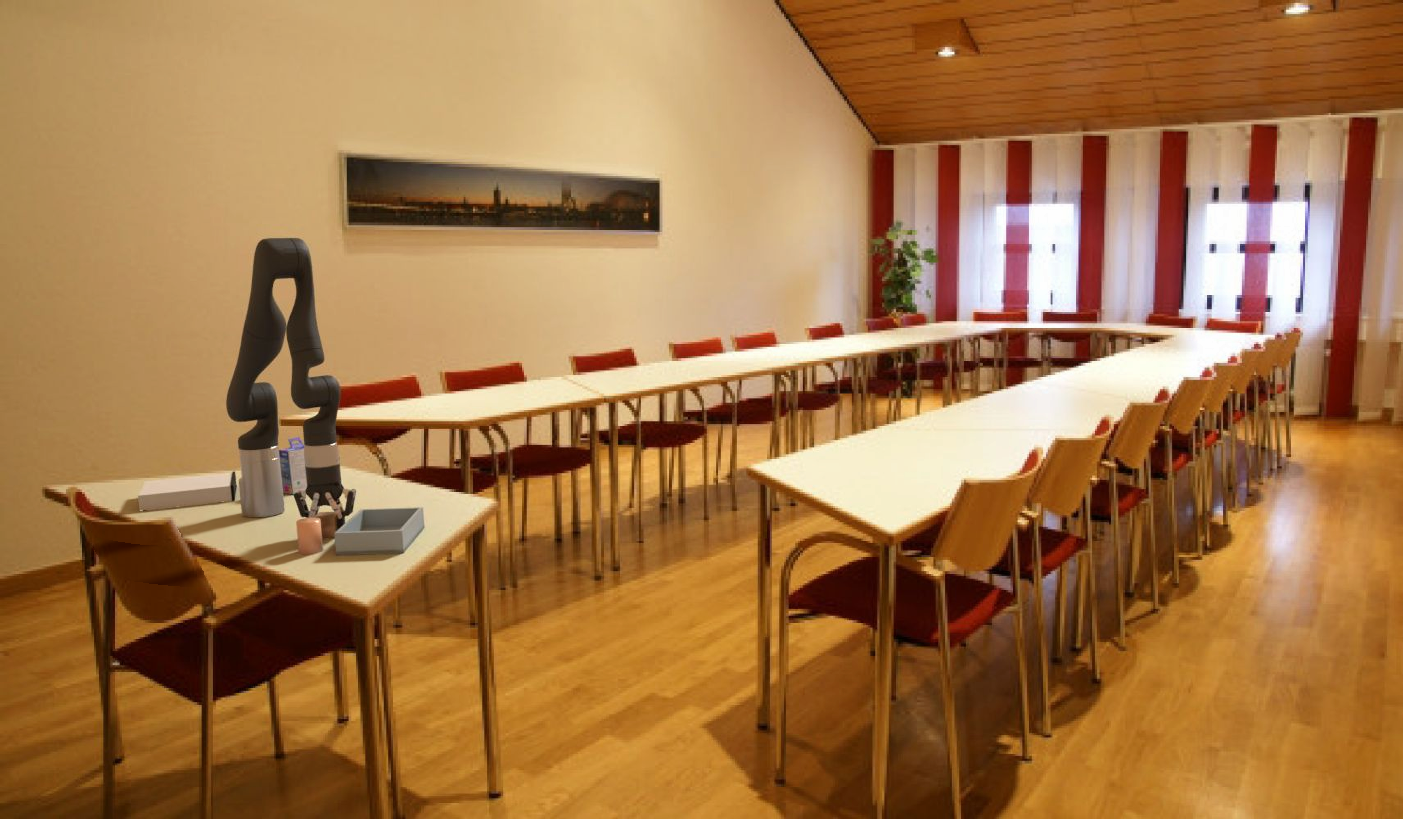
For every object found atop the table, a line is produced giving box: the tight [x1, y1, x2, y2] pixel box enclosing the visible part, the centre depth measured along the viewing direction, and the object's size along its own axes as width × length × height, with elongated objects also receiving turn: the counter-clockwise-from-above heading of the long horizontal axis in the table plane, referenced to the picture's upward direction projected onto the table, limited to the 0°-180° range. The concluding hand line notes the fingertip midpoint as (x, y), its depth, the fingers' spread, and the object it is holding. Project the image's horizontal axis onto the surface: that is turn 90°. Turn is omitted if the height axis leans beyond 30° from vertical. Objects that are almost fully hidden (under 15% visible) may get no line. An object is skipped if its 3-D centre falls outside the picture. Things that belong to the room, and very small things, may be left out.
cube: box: [313, 511, 337, 540], centre depth 234 cm, size 5×5×5 cm
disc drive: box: [137, 470, 238, 511], centre depth 272 cm, size 18×22×5 cm
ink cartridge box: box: [279, 436, 307, 495], centre depth 278 cm, size 10×6×14 cm, turn 148°
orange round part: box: [295, 517, 324, 556], centre depth 222 cm, size 5×5×7 cm
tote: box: [334, 506, 425, 556], centre depth 229 cm, size 15×20×5 cm
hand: (328, 533), depth 234 cm, fingers closed on cube, 5 cm apart
